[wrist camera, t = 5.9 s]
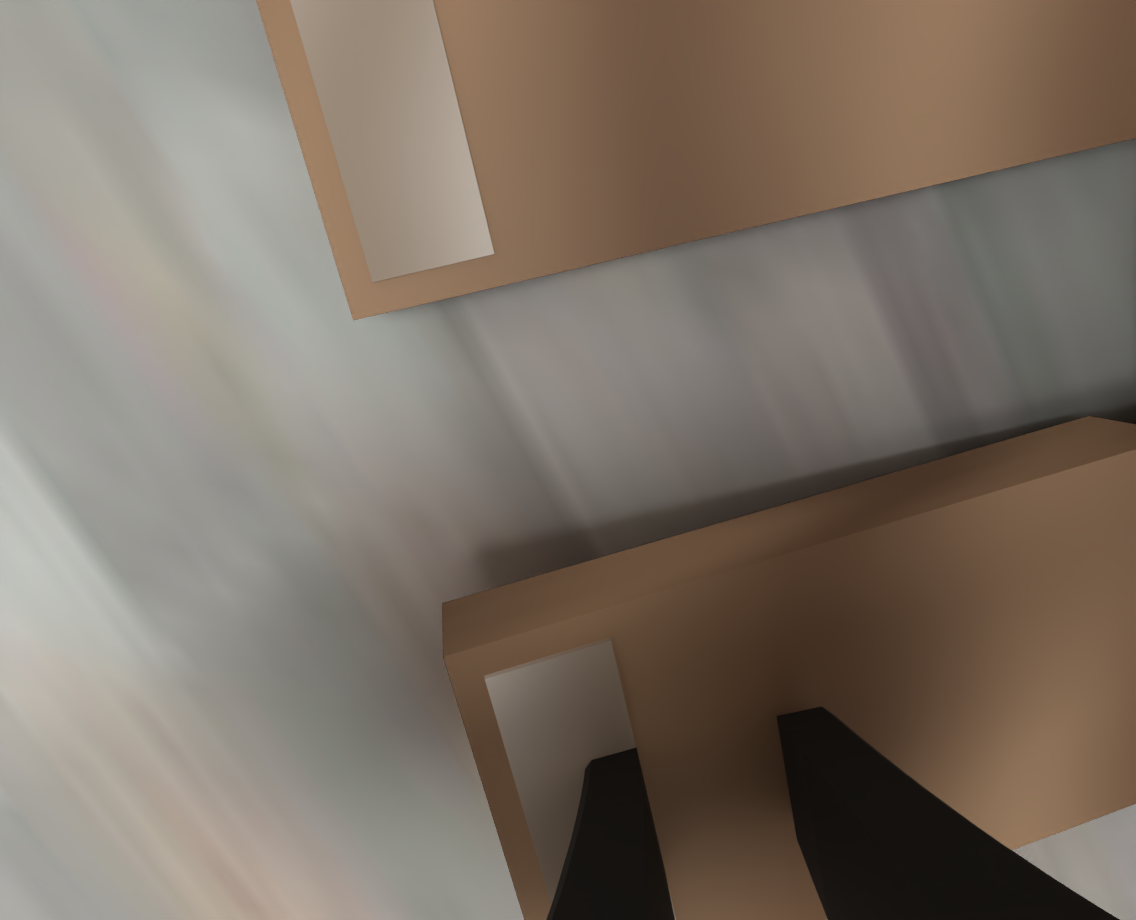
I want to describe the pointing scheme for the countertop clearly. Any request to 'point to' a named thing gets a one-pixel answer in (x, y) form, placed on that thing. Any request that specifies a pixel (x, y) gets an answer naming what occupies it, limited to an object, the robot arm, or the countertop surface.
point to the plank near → (663, 119)
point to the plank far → (823, 665)
